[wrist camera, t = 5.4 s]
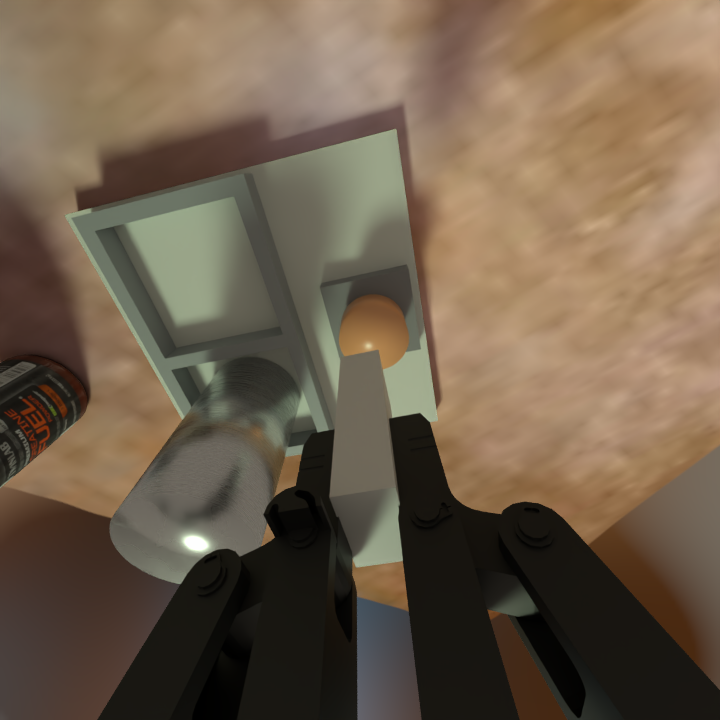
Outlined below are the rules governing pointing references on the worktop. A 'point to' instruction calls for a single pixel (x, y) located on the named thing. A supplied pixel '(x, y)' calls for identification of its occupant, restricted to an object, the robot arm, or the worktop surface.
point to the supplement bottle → (34, 409)
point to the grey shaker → (212, 473)
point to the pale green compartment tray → (267, 273)
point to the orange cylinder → (374, 329)
